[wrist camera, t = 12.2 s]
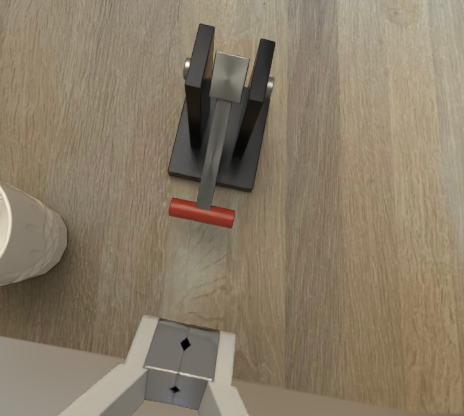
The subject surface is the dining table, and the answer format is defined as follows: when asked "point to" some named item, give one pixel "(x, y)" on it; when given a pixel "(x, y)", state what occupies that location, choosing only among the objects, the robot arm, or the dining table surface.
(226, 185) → the switch bracket
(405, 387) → the dining table surface
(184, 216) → the power lever
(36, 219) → the white cup
